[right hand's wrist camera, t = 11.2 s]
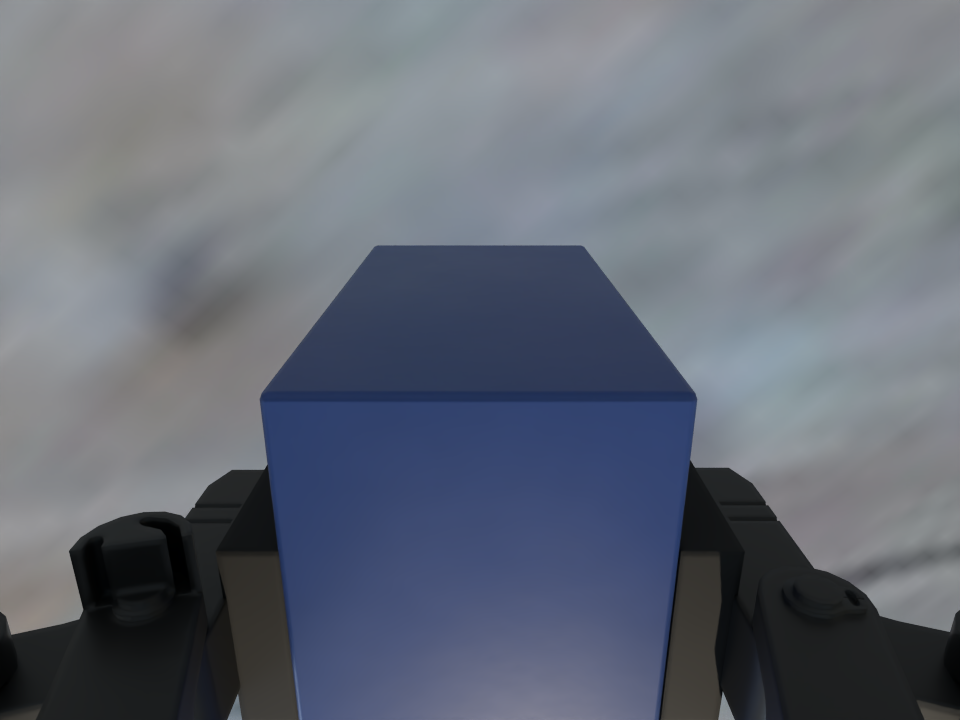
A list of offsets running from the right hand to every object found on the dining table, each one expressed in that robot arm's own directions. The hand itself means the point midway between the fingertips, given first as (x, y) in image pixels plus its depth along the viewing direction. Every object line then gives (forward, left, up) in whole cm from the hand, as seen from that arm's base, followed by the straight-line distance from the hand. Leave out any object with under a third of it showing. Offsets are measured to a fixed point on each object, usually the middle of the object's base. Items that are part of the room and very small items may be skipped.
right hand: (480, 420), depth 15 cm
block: (0, 0, -2) cm, 2 cm away
